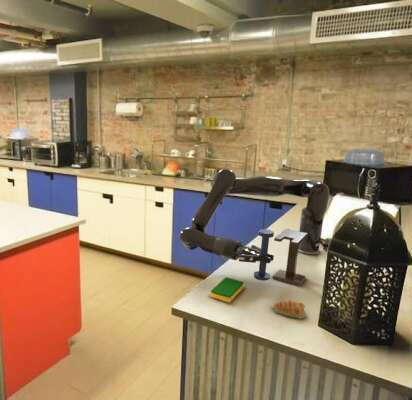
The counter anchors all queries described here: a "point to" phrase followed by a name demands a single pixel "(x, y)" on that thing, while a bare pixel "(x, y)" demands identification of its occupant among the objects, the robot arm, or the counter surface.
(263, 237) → the peg
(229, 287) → the dish sponge
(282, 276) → the stand
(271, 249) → the counter surface
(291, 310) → the pastry
